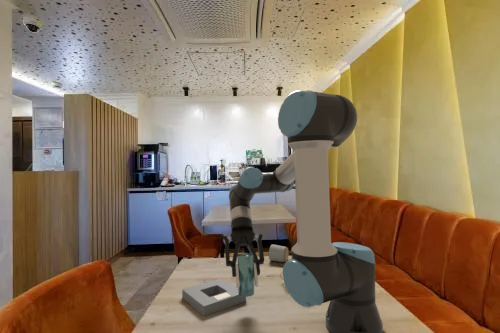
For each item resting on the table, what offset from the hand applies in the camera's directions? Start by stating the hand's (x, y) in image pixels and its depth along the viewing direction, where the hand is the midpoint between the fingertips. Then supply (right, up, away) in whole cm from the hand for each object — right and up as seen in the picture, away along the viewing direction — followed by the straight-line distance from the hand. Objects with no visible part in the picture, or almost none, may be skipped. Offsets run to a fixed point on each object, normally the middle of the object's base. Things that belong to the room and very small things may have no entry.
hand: (247, 285), depth 90 cm
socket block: (-12, -10, +12) cm, 20 cm away
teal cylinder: (0, -4, +4) cm, 5 cm away
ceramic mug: (+15, -9, +53) cm, 56 cm away
